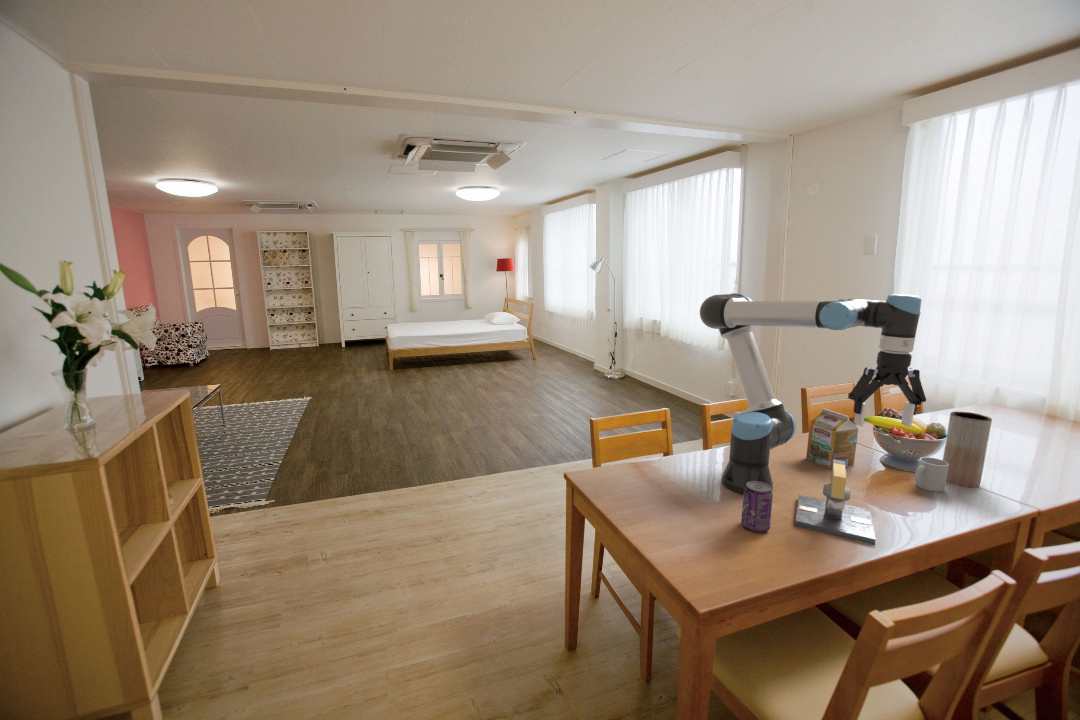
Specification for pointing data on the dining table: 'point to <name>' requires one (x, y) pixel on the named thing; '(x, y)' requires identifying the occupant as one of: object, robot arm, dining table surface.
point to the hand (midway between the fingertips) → (882, 425)
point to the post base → (835, 518)
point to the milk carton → (832, 439)
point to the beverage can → (757, 506)
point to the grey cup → (931, 474)
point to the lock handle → (837, 483)
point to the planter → (966, 448)
